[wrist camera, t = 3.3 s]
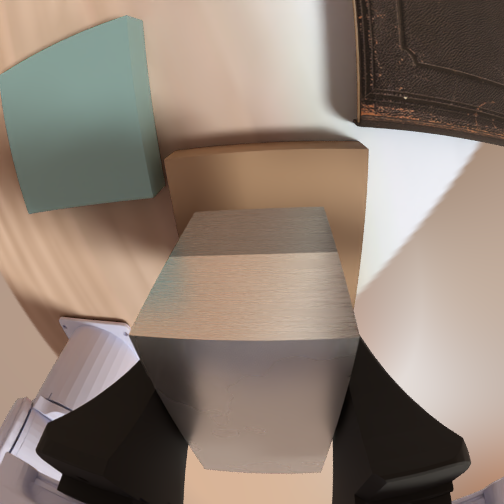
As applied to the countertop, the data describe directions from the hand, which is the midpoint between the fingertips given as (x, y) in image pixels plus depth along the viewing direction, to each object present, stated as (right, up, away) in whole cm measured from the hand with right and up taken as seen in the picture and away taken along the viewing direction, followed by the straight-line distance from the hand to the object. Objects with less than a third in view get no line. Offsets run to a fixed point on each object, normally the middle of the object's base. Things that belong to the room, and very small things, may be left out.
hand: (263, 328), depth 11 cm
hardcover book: (+16, +17, -1) cm, 23 cm away
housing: (0, +1, +1) cm, 2 cm away
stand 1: (-11, +11, +4) cm, 16 cm away
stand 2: (+1, +4, +7) cm, 8 cm away
